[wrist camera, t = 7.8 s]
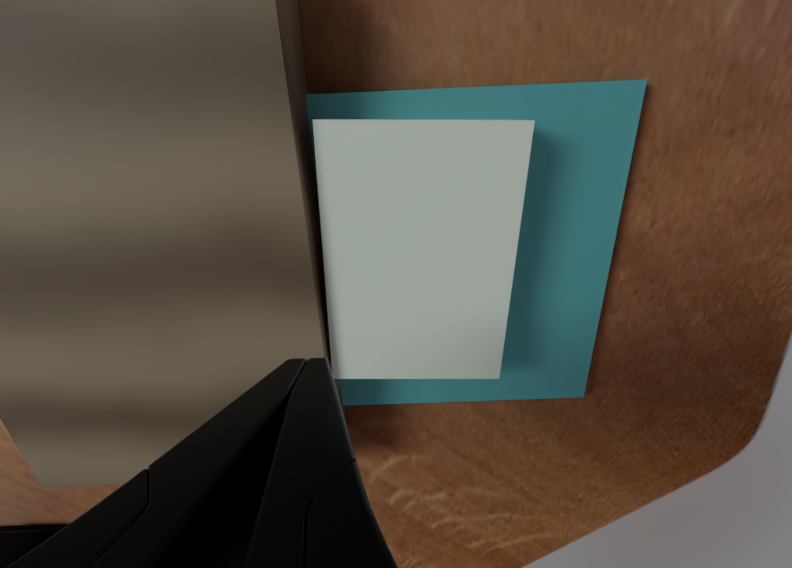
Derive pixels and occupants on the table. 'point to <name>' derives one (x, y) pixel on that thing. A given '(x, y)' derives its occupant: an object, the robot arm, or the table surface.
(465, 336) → the white rectangular block
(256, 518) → the robot arm
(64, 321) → the block
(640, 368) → the table surface
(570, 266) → the teal mat
